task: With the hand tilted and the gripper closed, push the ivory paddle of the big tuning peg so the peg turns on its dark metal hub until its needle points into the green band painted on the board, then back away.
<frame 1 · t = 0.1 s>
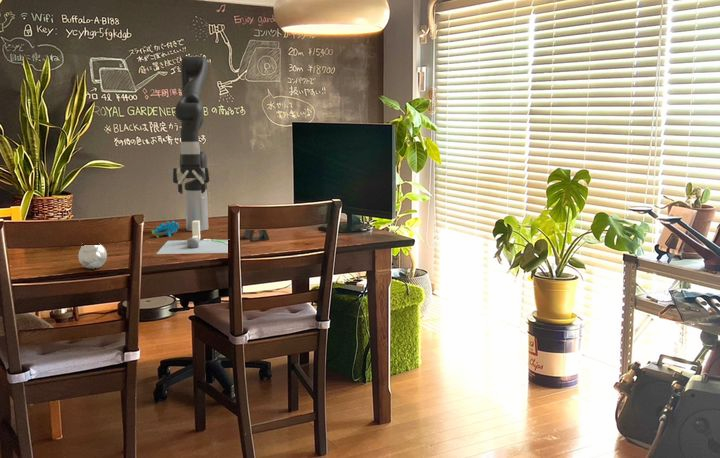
hand: (191, 193, 289), 17 cm above the table, tool pointing down, fingers open, 8 cm apart
peg: (194, 233, 269), point 5 cm above the table, hinge at 0.0°
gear: (165, 239, 286), on the table
board: (193, 250, 264), on the table
door stopper: (256, 240, 285), on the table
grey round ball: (93, 269, 236), on the table
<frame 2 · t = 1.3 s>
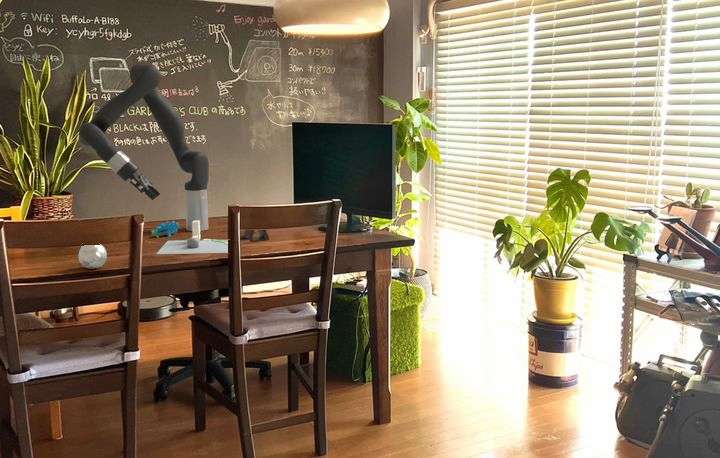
hand: (156, 196, 269), 19 cm above the table, tool tilted 45°, fingers open, 7 cm apart
nothing on the table moved.
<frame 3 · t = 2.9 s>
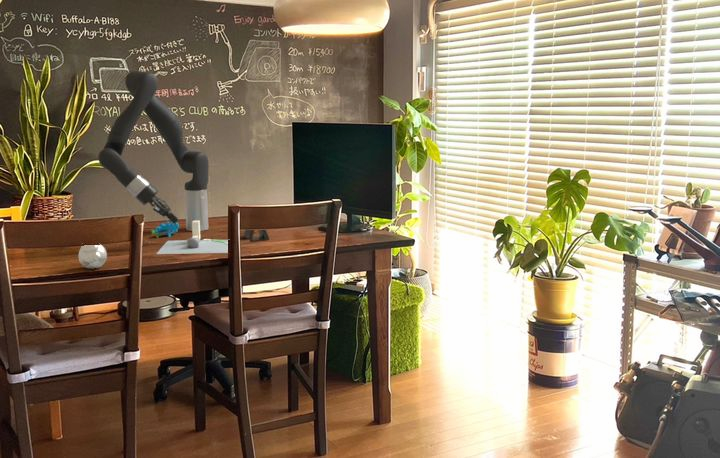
hand: (176, 221, 272), 9 cm above the table, tool tilted 45°, fingers closed
nothing on the table moved.
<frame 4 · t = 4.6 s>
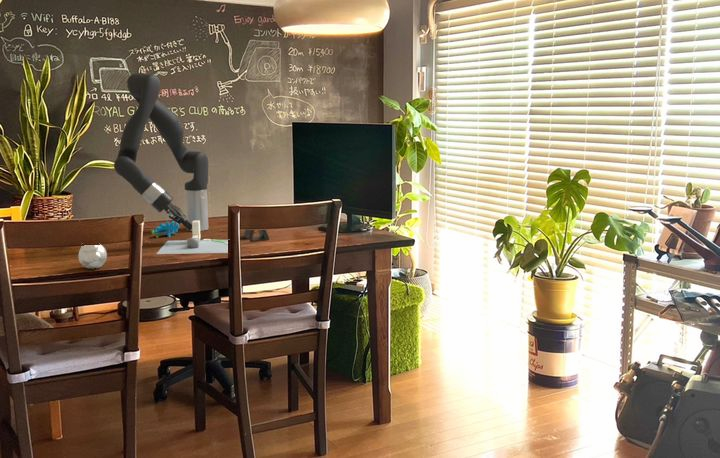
hand: (191, 228, 273), 6 cm above the table, tool tilted 45°, fingers closed
peg: (194, 233, 269), point 5 cm above the table, hinge at 0.2°, touching gripper
everything else where it was.
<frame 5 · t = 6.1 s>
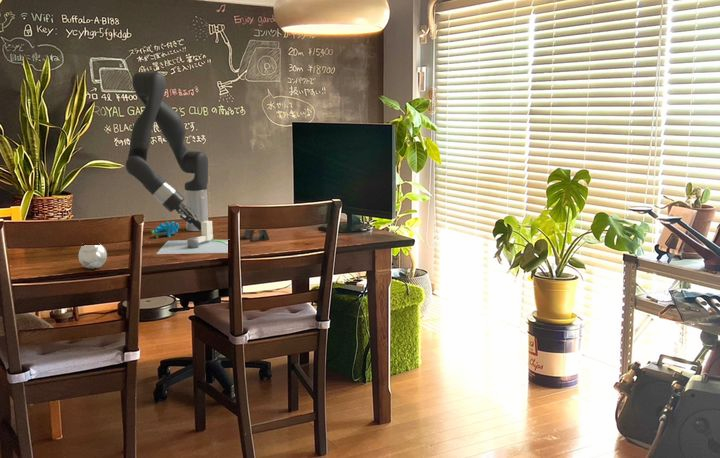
hand: (202, 228, 273), 6 cm above the table, tool tilted 45°, fingers closed
peg: (201, 233, 269), point 5 cm above the table, hinge at 24.6°, touching gripper
everything else where it was.
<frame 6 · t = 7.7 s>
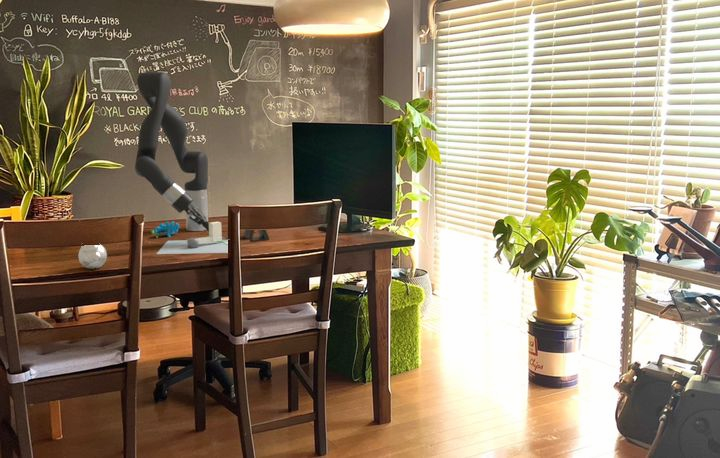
hand: (211, 229, 271), 6 cm above the table, tool tilted 45°, fingers closed
peg: (206, 234, 267), point 5 cm above the table, hinge at 48.8°, touching gripper
everything else where it was.
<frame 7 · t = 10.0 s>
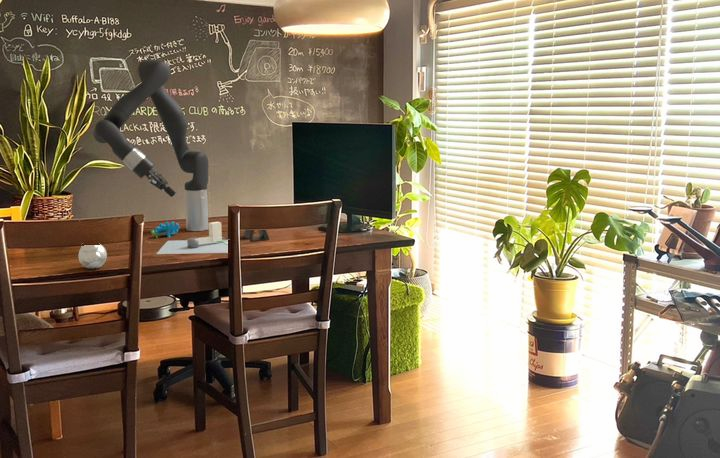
hand: (173, 195, 269), 19 cm above the table, tool tilted 45°, fingers closed
peg: (206, 234, 267), point 5 cm above the table, hinge at 48.8°
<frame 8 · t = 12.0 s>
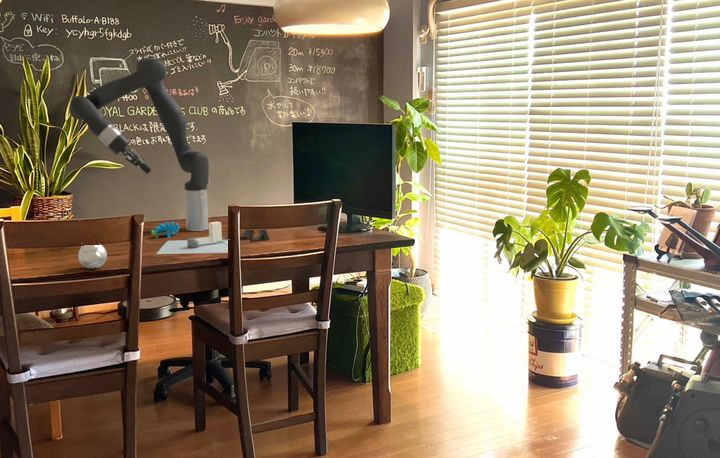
hand: (149, 171, 270), 28 cm above the table, tool tilted 45°, fingers closed
at the end: peg at +49° (first picture: +0°) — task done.
